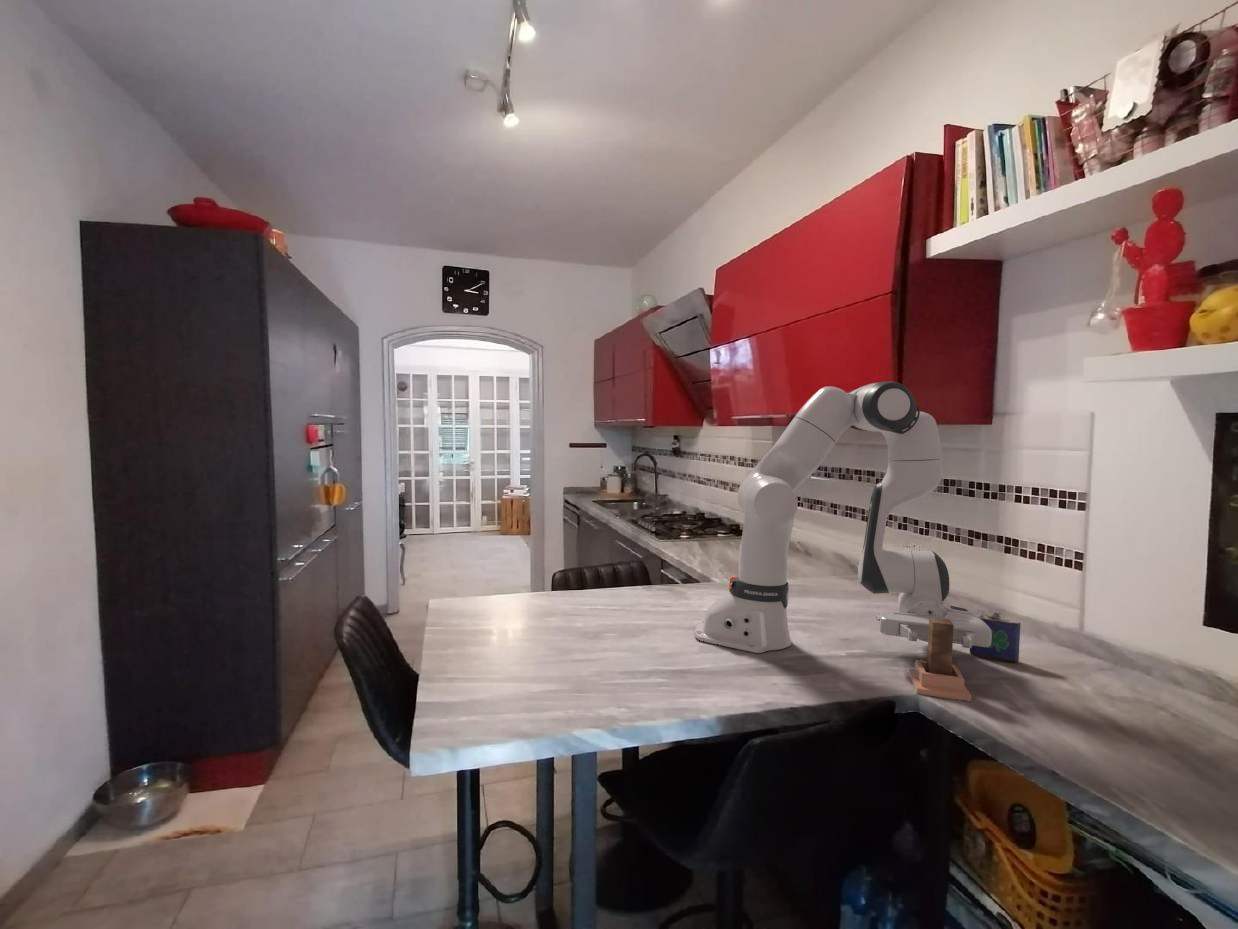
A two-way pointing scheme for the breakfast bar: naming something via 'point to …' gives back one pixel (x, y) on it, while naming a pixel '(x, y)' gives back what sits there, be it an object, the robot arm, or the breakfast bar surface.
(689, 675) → the breakfast bar surface
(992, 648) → the flask
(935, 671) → the walnut stick
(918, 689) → the terracotta holder
